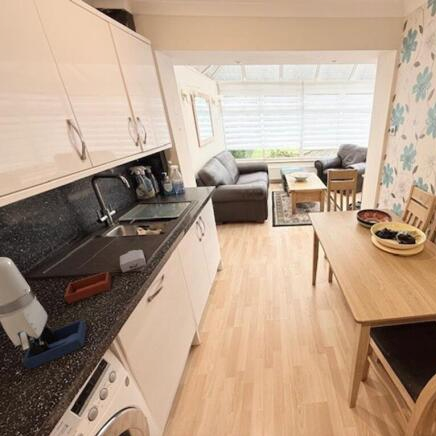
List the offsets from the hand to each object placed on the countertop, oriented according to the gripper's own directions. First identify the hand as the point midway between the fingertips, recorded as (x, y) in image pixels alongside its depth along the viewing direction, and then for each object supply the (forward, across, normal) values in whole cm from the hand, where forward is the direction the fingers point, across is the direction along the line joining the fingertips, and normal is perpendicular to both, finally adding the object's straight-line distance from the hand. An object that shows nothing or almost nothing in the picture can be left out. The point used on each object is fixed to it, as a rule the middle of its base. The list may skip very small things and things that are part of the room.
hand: (47, 346), depth 71 cm
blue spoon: (+2, 0, +3) cm, 3 cm away
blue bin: (+2, 0, +2) cm, 3 cm away
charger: (+2, -40, +22) cm, 46 cm away
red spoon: (+2, -27, +8) cm, 28 cm away
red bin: (+2, -27, +7) cm, 28 cm away
